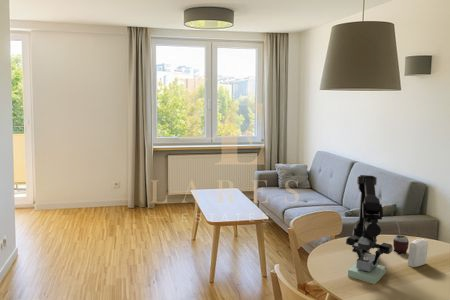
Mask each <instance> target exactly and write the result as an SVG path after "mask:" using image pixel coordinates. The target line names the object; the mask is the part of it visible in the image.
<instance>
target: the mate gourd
mask: <svg viewBox="0 0 450 300" xmlns="http://www.w3.org/2000/svg"><path fill="white" fill-rule="evenodd" d="M394 221H395V223H396V225H397V228H398V234H397V235H395V236H394V238H393V242H392V246H393V252H397V254H398V255H400V254H401V253H402V254H406V255H407V254H408V253H407V251H408V249H409V246H410V242H409V239H408V237H407V236H405V235H401V230H400V224H399V222H398V221H397V220H396V219H394Z"/></svg>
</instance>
